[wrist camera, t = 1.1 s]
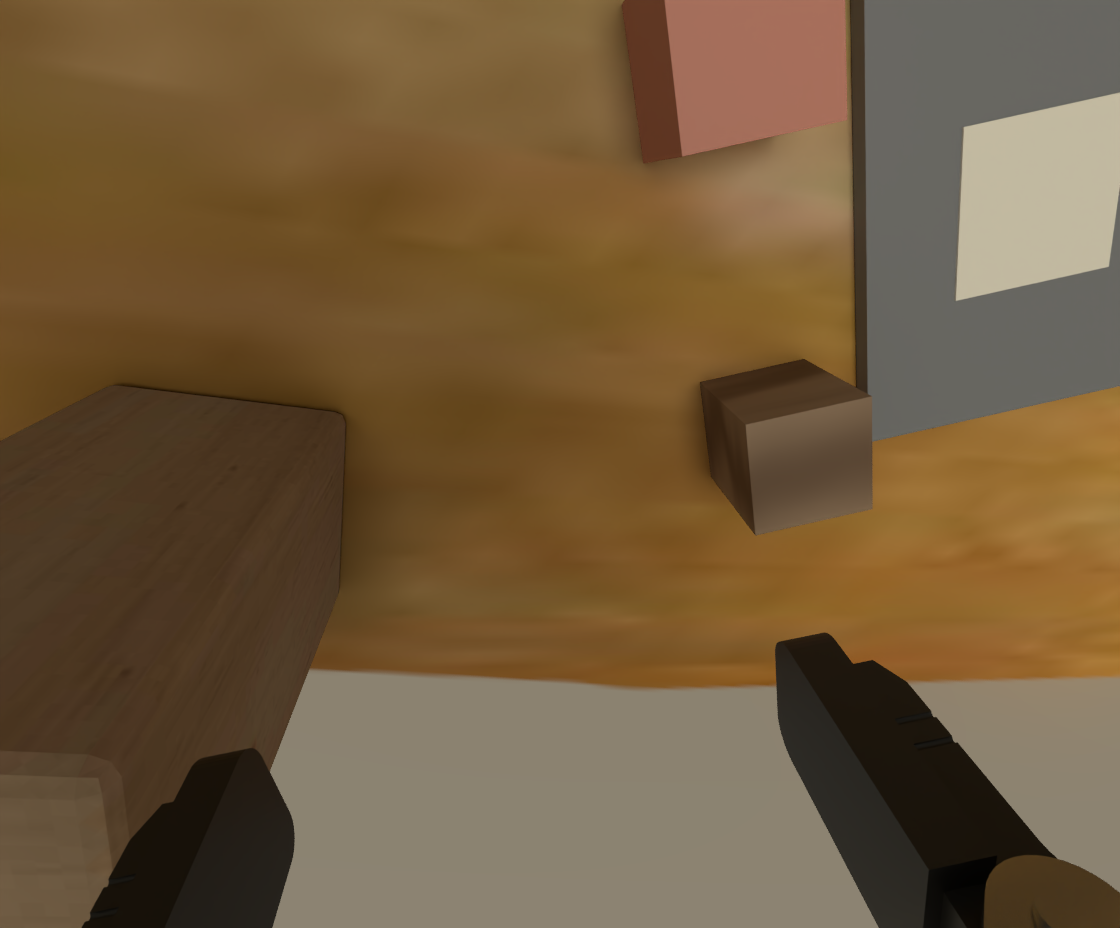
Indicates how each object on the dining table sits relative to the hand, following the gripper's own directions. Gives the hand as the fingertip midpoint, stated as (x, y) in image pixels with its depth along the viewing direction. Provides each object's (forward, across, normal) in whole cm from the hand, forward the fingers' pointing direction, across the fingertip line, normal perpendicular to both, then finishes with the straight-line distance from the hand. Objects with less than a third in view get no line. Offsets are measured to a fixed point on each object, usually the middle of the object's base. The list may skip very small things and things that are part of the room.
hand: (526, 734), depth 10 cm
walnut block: (+21, -12, +5) cm, 24 cm away
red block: (+21, -10, -10) cm, 26 cm away
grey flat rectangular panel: (+21, -24, -3) cm, 32 cm away
